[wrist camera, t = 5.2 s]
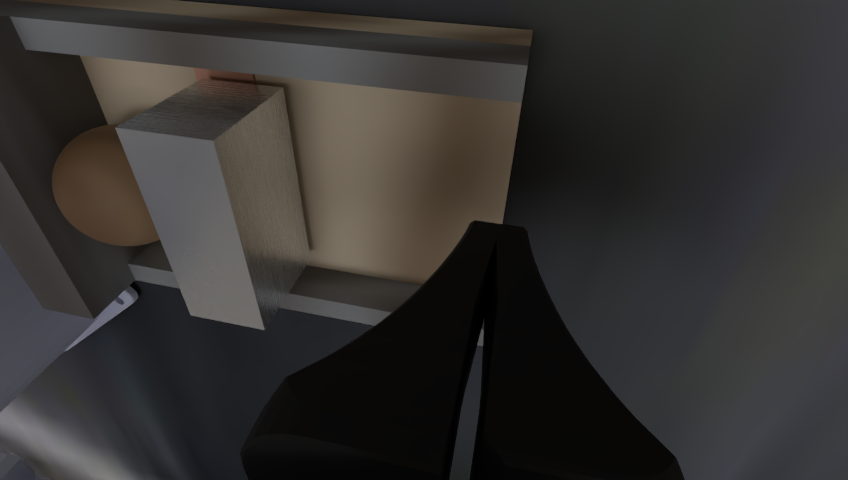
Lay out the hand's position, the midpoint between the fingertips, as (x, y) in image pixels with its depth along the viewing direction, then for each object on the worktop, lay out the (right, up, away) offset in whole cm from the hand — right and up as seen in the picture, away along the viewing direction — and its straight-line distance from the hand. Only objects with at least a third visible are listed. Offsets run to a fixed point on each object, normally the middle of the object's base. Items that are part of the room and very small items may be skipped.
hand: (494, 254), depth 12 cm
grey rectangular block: (-7, +2, +3) cm, 8 cm away
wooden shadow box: (-6, +3, +4) cm, 8 cm away
